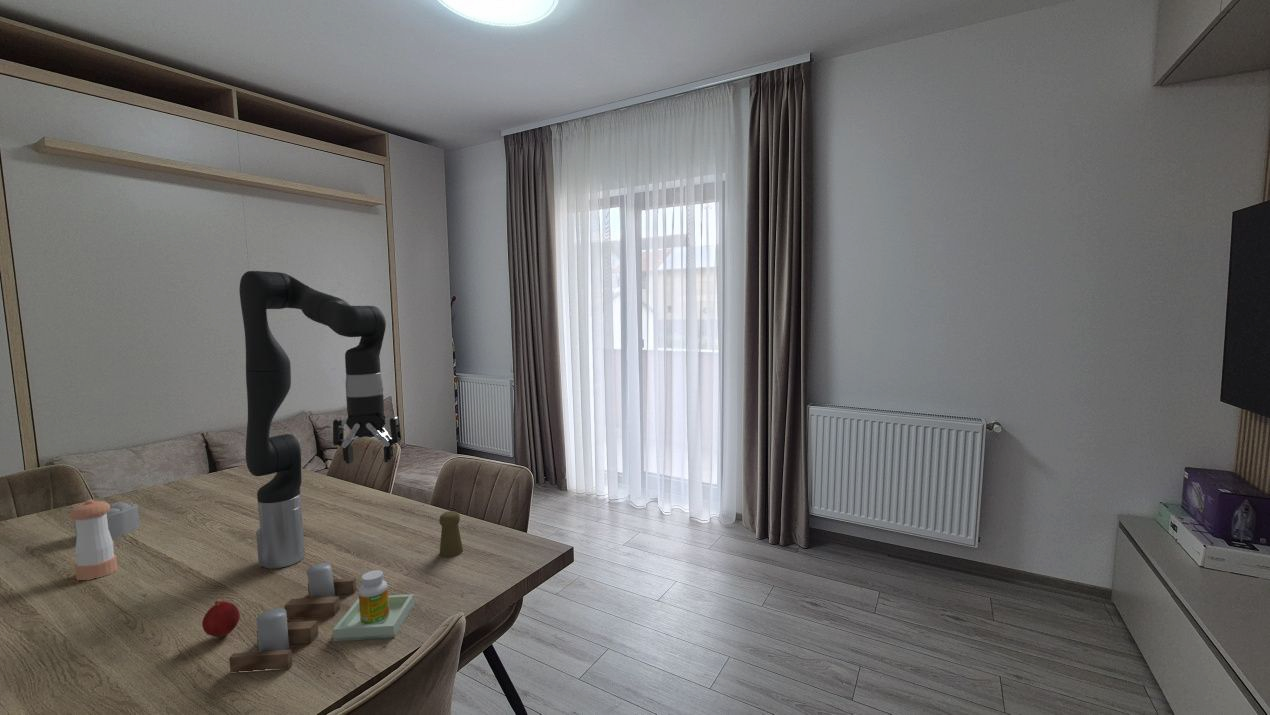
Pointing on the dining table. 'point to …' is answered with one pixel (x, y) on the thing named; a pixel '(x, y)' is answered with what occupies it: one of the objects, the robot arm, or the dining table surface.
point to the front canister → (272, 630)
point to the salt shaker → (93, 541)
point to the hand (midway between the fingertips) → (369, 462)
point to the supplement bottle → (373, 598)
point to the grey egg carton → (121, 519)
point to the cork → (450, 535)
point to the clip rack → (295, 629)
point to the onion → (221, 619)
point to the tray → (389, 628)
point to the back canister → (321, 581)
